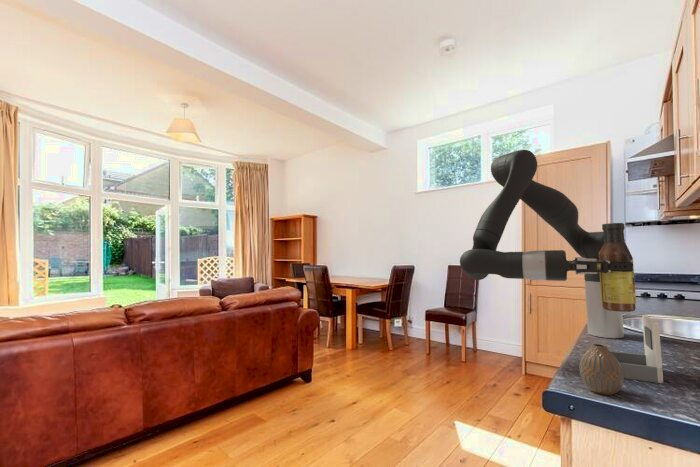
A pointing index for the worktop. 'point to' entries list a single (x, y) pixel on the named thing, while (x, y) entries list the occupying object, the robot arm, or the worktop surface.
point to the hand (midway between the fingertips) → (629, 266)
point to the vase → (601, 370)
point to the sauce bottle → (616, 284)
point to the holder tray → (644, 356)
